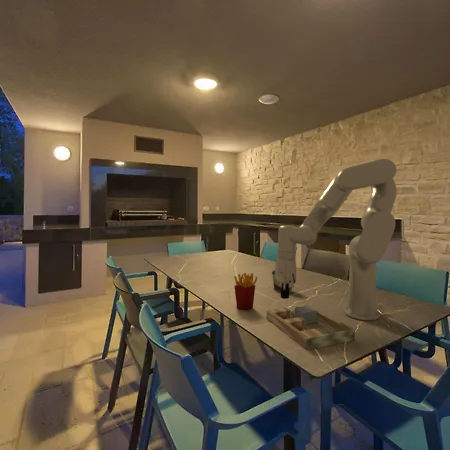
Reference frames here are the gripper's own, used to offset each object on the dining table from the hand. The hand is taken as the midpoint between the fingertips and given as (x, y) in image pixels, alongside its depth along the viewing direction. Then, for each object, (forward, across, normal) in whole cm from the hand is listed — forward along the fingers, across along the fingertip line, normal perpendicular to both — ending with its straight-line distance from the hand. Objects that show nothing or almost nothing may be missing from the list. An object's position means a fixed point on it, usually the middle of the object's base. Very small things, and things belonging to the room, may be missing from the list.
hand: (284, 298), depth 120 cm
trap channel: (+4, +20, -3) cm, 20 cm away
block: (+4, +14, +1) cm, 14 cm away
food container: (+5, -22, +14) cm, 27 cm away
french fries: (+5, -7, -15) cm, 17 cm away
